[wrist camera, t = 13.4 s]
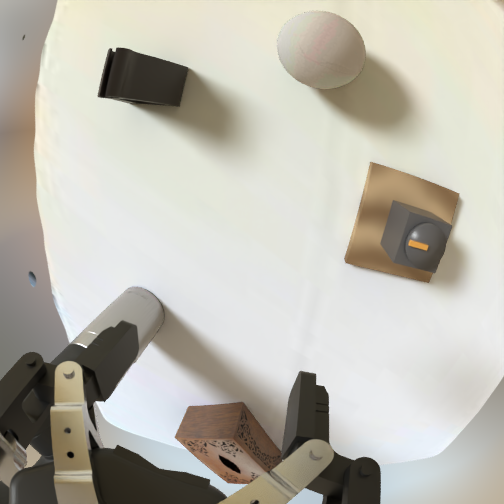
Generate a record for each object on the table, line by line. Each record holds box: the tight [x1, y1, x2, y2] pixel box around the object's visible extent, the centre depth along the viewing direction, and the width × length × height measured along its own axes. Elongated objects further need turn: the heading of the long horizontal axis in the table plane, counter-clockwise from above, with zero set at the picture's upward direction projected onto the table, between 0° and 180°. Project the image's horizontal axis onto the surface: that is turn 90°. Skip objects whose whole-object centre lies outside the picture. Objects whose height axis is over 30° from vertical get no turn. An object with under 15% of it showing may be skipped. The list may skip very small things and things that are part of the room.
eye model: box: [277, 11, 366, 89], centre depth 25 cm, size 10×10×10 cm
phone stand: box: [98, 48, 188, 106], centre depth 28 cm, size 9×6×12 cm, turn 77°
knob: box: [380, 200, 452, 273], centre depth 30 cm, size 6×6×8 cm
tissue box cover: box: [175, 402, 282, 484], centre depth 55 cm, size 26×14×10 cm, turn 23°
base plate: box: [344, 162, 459, 283], centre depth 34 cm, size 14×14×2 cm
